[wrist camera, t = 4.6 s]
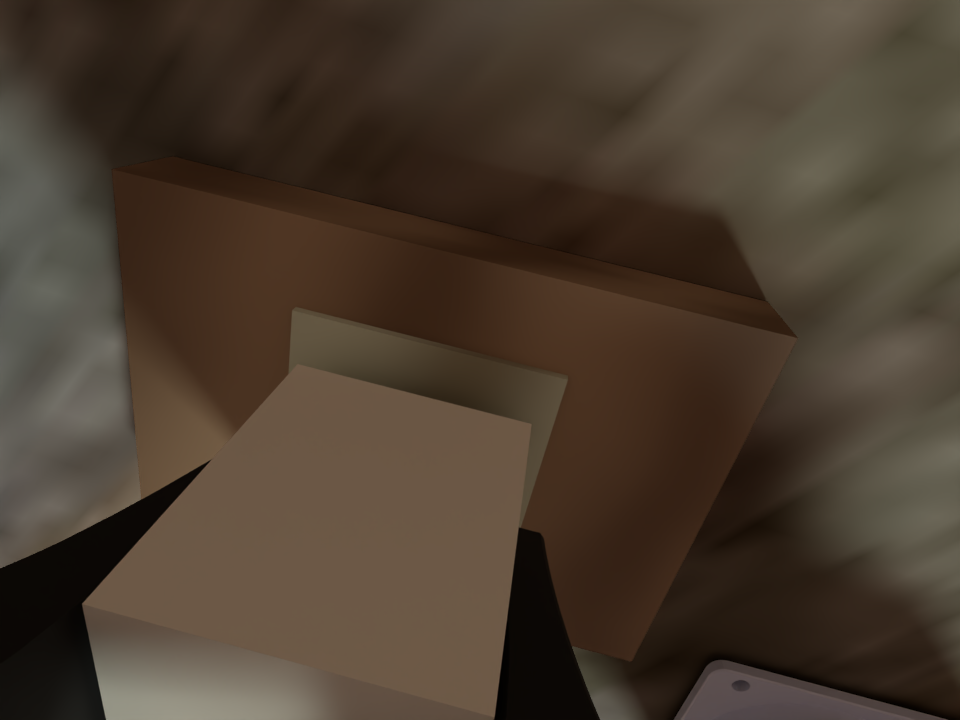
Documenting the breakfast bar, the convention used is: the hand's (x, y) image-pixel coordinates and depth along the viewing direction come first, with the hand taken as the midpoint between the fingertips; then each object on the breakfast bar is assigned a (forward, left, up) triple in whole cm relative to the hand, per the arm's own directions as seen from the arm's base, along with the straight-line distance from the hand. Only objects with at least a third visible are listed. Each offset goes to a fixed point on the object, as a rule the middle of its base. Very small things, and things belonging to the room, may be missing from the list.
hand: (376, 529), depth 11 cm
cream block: (0, 0, -2) cm, 2 cm away
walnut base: (0, 0, -5) cm, 5 cm away
